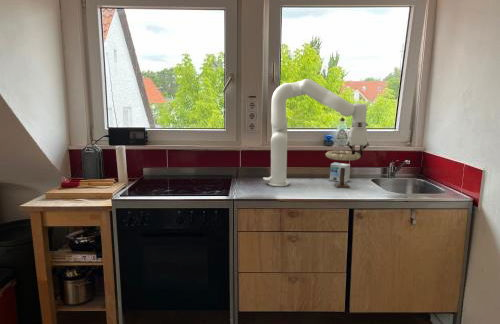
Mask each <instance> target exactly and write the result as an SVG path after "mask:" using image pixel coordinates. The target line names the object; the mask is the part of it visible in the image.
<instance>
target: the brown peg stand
mask: <svg viewBox="0 0 500 324" xmlns="http://www.w3.org/2000/svg"><path fill="white" fill-rule="evenodd" d="M344 175H345V168H343V167H341V170H340V182H334V186H335V187H336V188H337V189H350V185H349V184H348V183H347V182H344Z"/></svg>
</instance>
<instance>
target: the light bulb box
mask: <svg viewBox="0 0 500 324" xmlns="http://www.w3.org/2000/svg"><path fill="white" fill-rule="evenodd" d="M341 167H343V168H345V175H344V183H347V182H349V181H350V172H351V164H350V163H341V162H332V163H330V169H329V181H334V182H337V183H340V170H341Z"/></svg>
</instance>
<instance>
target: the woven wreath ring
mask: <svg viewBox="0 0 500 324" xmlns="http://www.w3.org/2000/svg"><path fill="white" fill-rule="evenodd" d="M351 153H352V150H351V151H350V150H328V151H327V152H326V153H324V154H325V158H328V159H330V160H335V161H357V160H360V158H362V156H361V155H360V154H359V152H356V151H355V154H353V155H351Z"/></svg>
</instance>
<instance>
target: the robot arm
mask: <svg viewBox="0 0 500 324" xmlns="http://www.w3.org/2000/svg"><path fill="white" fill-rule="evenodd" d="M305 95H306V96H308V97H310V98H311V99H312V100H315V101H316V102H317V103H319V104H322V105H323V106H326V107H328V108H330V109H332V110H334V111H335V112H337V113H339V114H340V115H341V116H343V117H346V118H347V117H352V118H351V127H350V128H349V130H348V131H349V132H348V137H347V142H346V143H345V146H346V147H348V148H349V149H350V150H351V151H352V153H351V155H353V154H355V152H356V150H355V149H356V146H359V150H358V153H359V154H360V155H361V157H362V156H363V152H364V151H365V149H366V148H368V147H369V146H370V143H369V141H368V128H367V127H368V126H369V123H367V111H368V105H367V103H351V102H349V101H348V100H346V99H345V98H342V97H341V96H339V95H338V94H336V93H334V92H333V91H331V90H330V89H327V88H326V87H324V86H322V85H321V84H319V83H318V82H316V81H314V79H313V80H312V79H311V78H304V79H302V80H300V81H295V82H285V83H282V84H280V85H279V86H278V87H276V88H275V90H274V92H273V93H272V96H271V102H270V103H271V104H270V105H271V110H270V112H271V113H270V114H271V115H270V116H271V117H270V118H271V119H270V124H271V137H270V175H269V176H268V177H262V181H265V182H267V184H268V185H269V186H271V187H286V186H287V187H288V186H289V185H290V181H287V177H288V176H287V175H288V174H287V171H288V169H287V167H288V118H287V101H288V99H292V98H297V97H300V96H301V97H302V96H305Z"/></svg>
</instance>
